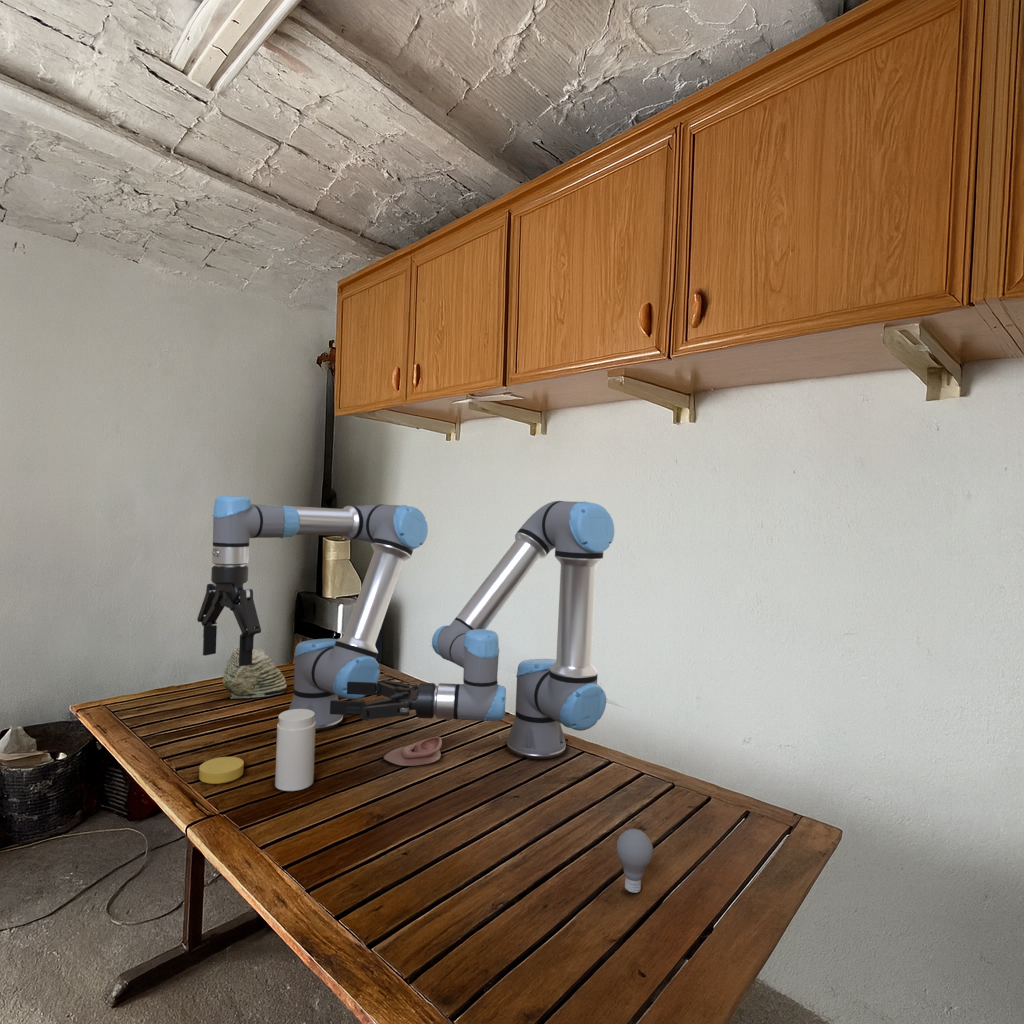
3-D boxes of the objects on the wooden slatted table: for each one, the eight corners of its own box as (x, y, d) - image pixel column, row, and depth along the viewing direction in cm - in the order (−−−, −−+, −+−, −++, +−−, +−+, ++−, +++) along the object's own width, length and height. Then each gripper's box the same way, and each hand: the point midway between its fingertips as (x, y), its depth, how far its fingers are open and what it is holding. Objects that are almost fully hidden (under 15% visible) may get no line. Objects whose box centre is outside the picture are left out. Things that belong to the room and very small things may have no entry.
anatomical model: (378, 746, 151) (397, 729, 163) (378, 762, 151) (396, 745, 163) (431, 753, 149) (446, 735, 160) (431, 770, 149) (445, 751, 160)
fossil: (218, 695, 195) (220, 647, 195) (278, 685, 208) (279, 640, 207) (228, 703, 189) (230, 653, 188) (289, 692, 201) (290, 645, 201)
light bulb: (610, 879, 108) (613, 822, 108) (644, 879, 109) (647, 822, 109) (619, 902, 102) (622, 840, 102) (655, 901, 103) (658, 840, 103)
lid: (216, 787, 136) (217, 777, 136) (190, 777, 140) (190, 767, 140) (252, 772, 144) (252, 762, 144) (225, 763, 148) (226, 753, 148)
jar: (299, 771, 145) (302, 705, 145) (321, 782, 140) (323, 714, 140) (267, 783, 139) (269, 714, 139) (288, 794, 134) (291, 723, 134)
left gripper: (182, 561, 145) (179, 653, 145) (249, 571, 132) (245, 673, 132) (213, 559, 151) (210, 647, 152) (280, 569, 138) (276, 666, 138)
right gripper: (427, 739, 127) (321, 735, 127) (441, 699, 152) (353, 696, 152) (428, 702, 127) (323, 697, 127) (442, 668, 152) (354, 665, 152)
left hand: (226, 659), depth 142 cm, fingers open, 13 cm apart
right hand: (339, 697), depth 139 cm, fingers open, 13 cm apart
